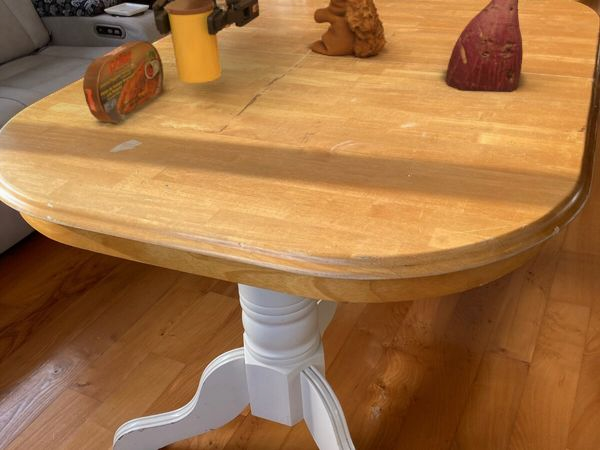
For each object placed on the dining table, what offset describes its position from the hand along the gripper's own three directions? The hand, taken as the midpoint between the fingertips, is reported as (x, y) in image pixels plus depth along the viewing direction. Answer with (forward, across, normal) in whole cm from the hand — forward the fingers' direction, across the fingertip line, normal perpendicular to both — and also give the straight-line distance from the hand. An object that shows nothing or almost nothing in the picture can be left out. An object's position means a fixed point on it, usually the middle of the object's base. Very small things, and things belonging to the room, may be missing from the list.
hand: (185, 26), depth 70 cm
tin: (-2, -10, +12) cm, 16 cm away
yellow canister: (-2, 0, +7) cm, 7 cm away
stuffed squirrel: (-29, +18, +12) cm, 36 cm away
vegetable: (-16, +38, +12) cm, 43 cm away
